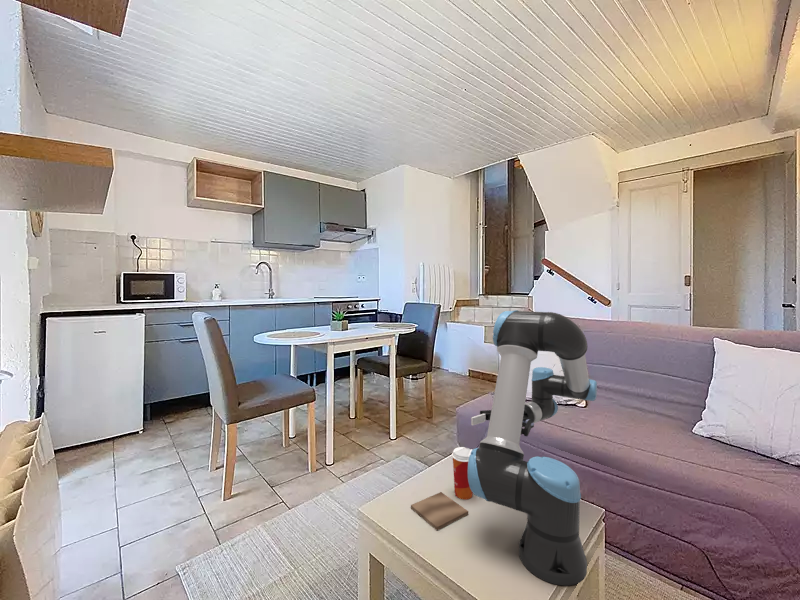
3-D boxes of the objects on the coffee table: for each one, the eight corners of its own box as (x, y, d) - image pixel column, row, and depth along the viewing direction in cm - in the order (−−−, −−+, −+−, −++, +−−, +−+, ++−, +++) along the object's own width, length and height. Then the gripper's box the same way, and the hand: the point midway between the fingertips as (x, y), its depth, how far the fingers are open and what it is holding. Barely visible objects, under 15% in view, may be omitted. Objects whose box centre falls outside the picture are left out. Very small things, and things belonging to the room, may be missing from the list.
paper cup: (458, 485, 120) (458, 444, 120) (479, 492, 116) (480, 450, 115) (447, 496, 114) (447, 453, 113) (469, 505, 109) (469, 460, 109)
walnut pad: (468, 514, 105) (468, 511, 105) (437, 530, 98) (437, 527, 98) (441, 494, 115) (441, 491, 115) (410, 508, 108) (410, 505, 108)
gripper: (557, 436, 122) (518, 453, 110) (499, 414, 143) (460, 426, 131) (557, 414, 122) (518, 429, 110) (499, 395, 142) (460, 406, 130)
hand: (486, 428), depth 120 cm, fingers open, 13 cm apart
